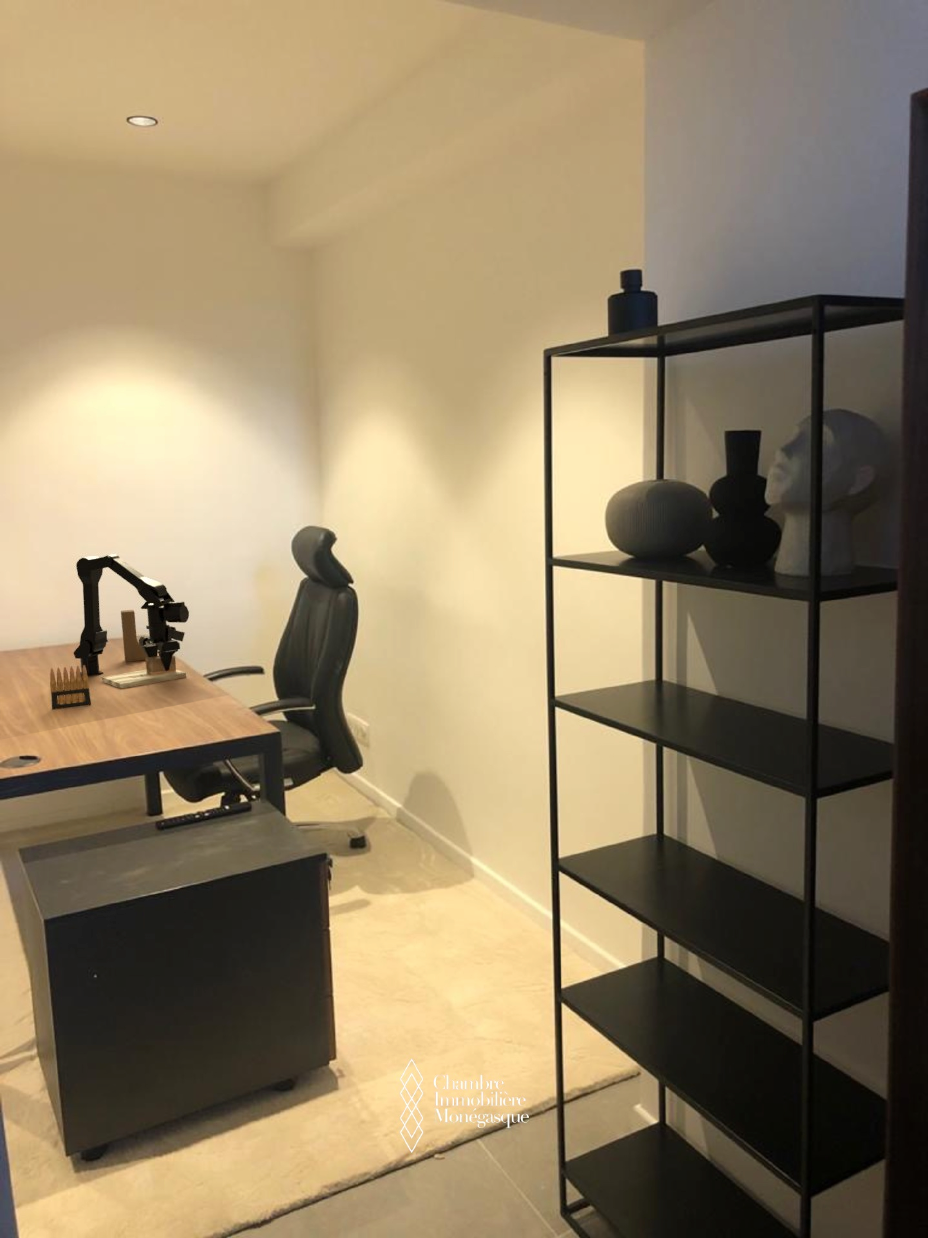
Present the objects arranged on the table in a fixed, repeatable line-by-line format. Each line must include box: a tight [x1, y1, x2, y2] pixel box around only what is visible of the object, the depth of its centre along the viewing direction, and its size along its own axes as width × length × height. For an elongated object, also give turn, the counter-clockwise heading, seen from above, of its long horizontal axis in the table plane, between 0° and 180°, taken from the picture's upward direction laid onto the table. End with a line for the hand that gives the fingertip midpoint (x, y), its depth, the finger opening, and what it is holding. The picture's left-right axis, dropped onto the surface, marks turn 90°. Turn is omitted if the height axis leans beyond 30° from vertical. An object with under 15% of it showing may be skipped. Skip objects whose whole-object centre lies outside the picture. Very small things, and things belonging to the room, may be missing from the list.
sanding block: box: [145, 655, 177, 675], centre depth 335 cm, size 5×8×5 cm, turn 131°
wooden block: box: [120, 609, 148, 663], centre depth 365 cm, size 9×4×18 cm, turn 110°
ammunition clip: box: [49, 665, 92, 711], centre depth 296 cm, size 11×2×12 cm, turn 113°
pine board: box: [101, 669, 187, 689], centre depth 332 cm, size 15×22×2 cm
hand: (161, 668), depth 336 cm, fingers open, 9 cm apart
